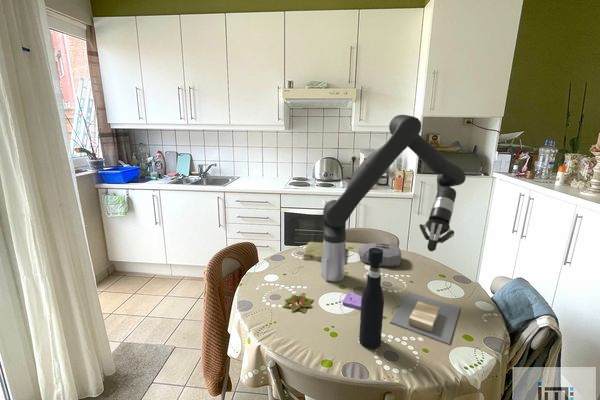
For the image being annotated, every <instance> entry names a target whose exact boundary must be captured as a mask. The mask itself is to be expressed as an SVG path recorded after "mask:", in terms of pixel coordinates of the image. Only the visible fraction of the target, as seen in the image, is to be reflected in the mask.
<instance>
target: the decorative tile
mask: <svg viewBox="0 0 600 400" xmlns="http://www.w3.org/2000/svg"><path fill="white" fill-rule="evenodd" d="M346 250H347V245H345V252H347V251H346ZM322 254H323V242H317V241H316V242H315V241H308V243H307V244H306V248H305V249H304V253H303V257H302V258H303V259H302V260H304V261H315V262H320V263H321V258H322Z"/></svg>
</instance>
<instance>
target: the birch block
mask: <svg viewBox="0 0 600 400" xmlns="http://www.w3.org/2000/svg"><path fill="white" fill-rule="evenodd" d="M439 309H440V307H439V306H436V305H432V304H429V303H426V302H423V301H420V300H418V302H417V304H416V306H415V308H414V310H413V312H412V313H411V315H410V317H409V325H411V326H414V327H417V328H420V329H422V330H425V331H428V332H432V330H433V327H434V325H435V322H436V320H437V317H438V314H439Z"/></svg>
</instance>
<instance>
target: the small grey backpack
mask: <svg viewBox="0 0 600 400" xmlns="http://www.w3.org/2000/svg"><path fill="white" fill-rule="evenodd" d="M370 248H379V249H381V250H383V259H382V263H381V264H380V266H379V267H388V268H389V267H399V266H400V264H401V261H402V252H401V249H400V247H399V246H396V245H393V244H392V245H391V244H386V243H382V242H370V243H365V244H363V245H362V246H360V247H359V248H358V249H359V250H358V251H357V252H358V255H359V259H360V261H361V262H362V263H366V264H370V262H369V261H368V255H369V249H370Z"/></svg>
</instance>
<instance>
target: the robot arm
mask: <svg viewBox="0 0 600 400" xmlns="http://www.w3.org/2000/svg"><path fill="white" fill-rule="evenodd" d="M388 130H389V132H390V134H391V136H390V137H389V138H388V140H387V141H386V142H385V143H384V144H383V145H382V146H380V148H378V149H376V150H375V151H374V152H372V153H371V154H369V155H368V156H367V157H366V158H364V160H363V161H362V162H361V164H360V165H359V166H358V167H357V169H356V170H355V171H354V173H353V174H352V176H351V178H350V180H349V182H348V184H347V186H346V189H345V190H344V191H343V193H342V194H341V195H340V196H339V197H338V199H331V200H329V201H328V202H326V203H325V205H324V207H323V211H322V212H323V213H322V226H323V227H322V231H323V232H322V233H323V235H322V236H323V238H322V239H323V241H322V243H323V254H322V258H321V262H320V263H321V264H320V265H321V271H320V272H321V276H322V279H323V280H324V281H325V282H335V283H336V282H337V283H338V282H340V281H341V282H342V281H344V278H345V275H346V274H345V272H346V270H345V268H346V266H345V265H346V251H345V245H346V242H347V241H346V240H347V233H346V222H347V221H348V219H349V218H350V217H351V215H352V214H353V212H354V210H355V209H356V208H357V206H358V205H359V203H361V201H362V200H363V199H364V198H365V197H366V196H367V194H369V192H370V191H371V189H373V187H374V186H375V185H376V184H377V183H378V182H379V180H380V179H381V178H382V177H383V175H384V174H385V172H387V170H388V169H389V168H390V167H391V166H392V165H393V163H394V162H395V161H396V160H397V158H398V157H399V156H400V155H401V154H402V153H403V152H404V151H405V150H406V149H407V148H409V150H411V151H412V152H413V153H414V154H415V155H416V156H417V157H418V158H419V159H420V160H421V161H422V162H423V164H425V165H426V167H427V168H428V169H429V170H430V171H431V172H432V173H433V174H435V175H437V176H436V177H437V178H436V188H437V189H436V191H437V193H436V195H435V199H434V201H433V204H432V207H431V209H430V214H429V217H428V220H427V221H425V222H426V223H424V224H423V223H421V224H419V229H420V231H421V234H422V235H423V237H424V239H425V240H426V241H428V243H427V250H428V251H429V252H434V251H436V250H437V245H438V244H443V243H446V241H448V240H449V239H451V238H452V237H454V236H455V231H454V230H453V229H451V227H450V224H451V223H450V222H451V218H452V215H453V212H454V205H455V202H456V201H455V200H456V197H457V191H456V189H455V188H453V187H455V186H456V187H457V186H461V185H463V184H464V183H465V182H466V174H465V172H464V170H463V169H462V168H461V167H460V166H458V165H457V164H456V163H453V162H452V161H450V160H448V159H447V158H446V157H445V156H444V155H443V154H442V153H441V152H440V150H439V149H438V148H437V147H435V146H434V145H432V144H431V143H429V142H428V141H427V140H426V139H425V138H424V137H422V136H421V135H420V133H421V130H422V122H421V120H420V119H419V118H418V117H416V116H412V115H408V114H398V115H395V116H393V118H391V120H390V122H389V125H388ZM427 229H428V232H429V234H428V232H427ZM346 246H347V245H346Z"/></svg>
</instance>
